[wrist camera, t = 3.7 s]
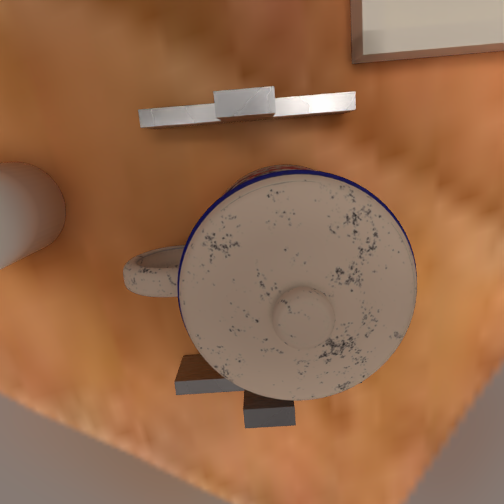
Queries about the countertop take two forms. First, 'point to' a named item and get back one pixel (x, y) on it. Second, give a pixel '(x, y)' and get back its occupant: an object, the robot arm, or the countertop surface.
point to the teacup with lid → (289, 283)
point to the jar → (27, 211)
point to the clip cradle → (230, 111)
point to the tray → (424, 28)
